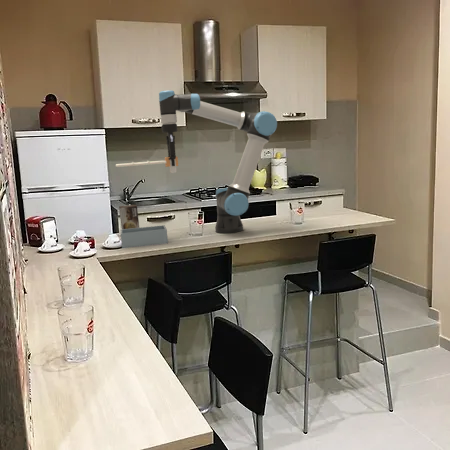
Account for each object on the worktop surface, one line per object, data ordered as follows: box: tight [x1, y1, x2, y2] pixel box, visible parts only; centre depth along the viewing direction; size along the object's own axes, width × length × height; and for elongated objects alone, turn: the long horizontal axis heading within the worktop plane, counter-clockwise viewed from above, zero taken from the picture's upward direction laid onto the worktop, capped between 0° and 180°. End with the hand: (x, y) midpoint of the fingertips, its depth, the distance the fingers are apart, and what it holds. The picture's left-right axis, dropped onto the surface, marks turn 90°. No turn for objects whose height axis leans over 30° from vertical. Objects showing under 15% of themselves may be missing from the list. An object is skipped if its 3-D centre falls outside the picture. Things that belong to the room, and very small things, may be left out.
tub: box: [120, 225, 169, 249], centre depth 256 cm, size 22×12×8 cm, turn 101°
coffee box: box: [118, 204, 140, 229], centre depth 286 cm, size 9×6×16 cm
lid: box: [115, 155, 179, 168], centre depth 250 cm, size 30×13×4 cm, turn 101°
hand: (173, 172), depth 254 cm, fingers closed on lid, 3 cm apart
